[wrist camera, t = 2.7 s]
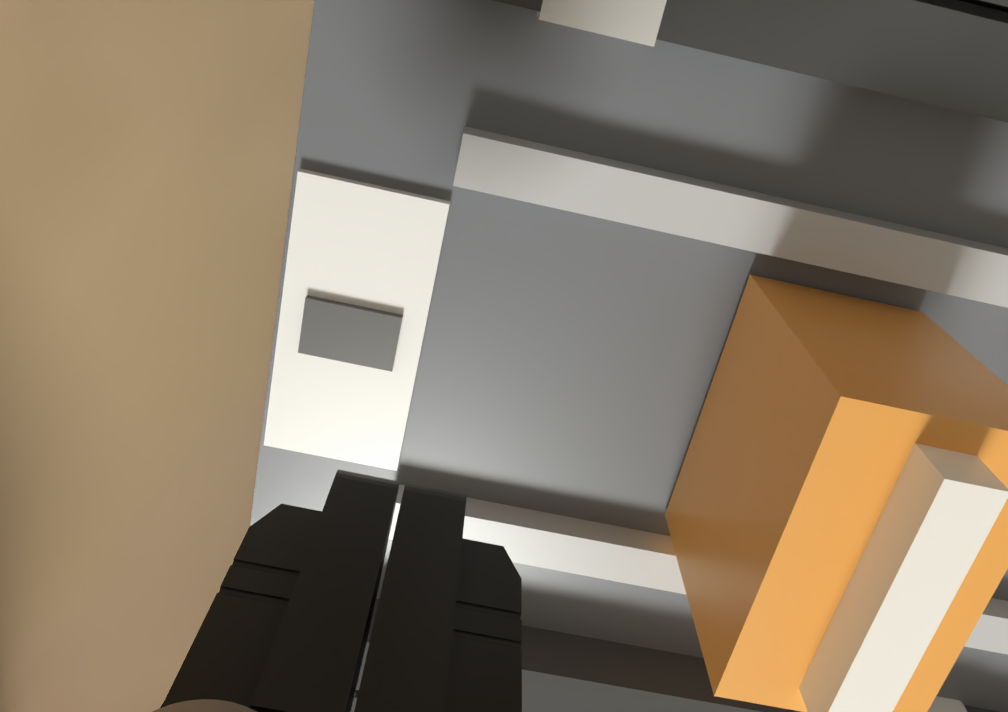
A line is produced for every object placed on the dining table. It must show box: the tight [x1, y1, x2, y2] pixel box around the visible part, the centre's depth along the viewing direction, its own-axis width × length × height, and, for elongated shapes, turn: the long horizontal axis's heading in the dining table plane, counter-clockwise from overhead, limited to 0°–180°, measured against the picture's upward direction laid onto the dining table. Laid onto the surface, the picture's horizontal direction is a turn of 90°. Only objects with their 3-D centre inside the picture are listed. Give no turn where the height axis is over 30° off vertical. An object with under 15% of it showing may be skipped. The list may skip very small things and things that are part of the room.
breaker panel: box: [250, 0, 1008, 712], centre depth 16 cm, size 22×18×3 cm
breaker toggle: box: [665, 275, 1008, 712], centre depth 13 cm, size 5×3×5 cm, turn 168°
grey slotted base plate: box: [351, 0, 1008, 712], centre depth 16 cm, size 17×15×4 cm
